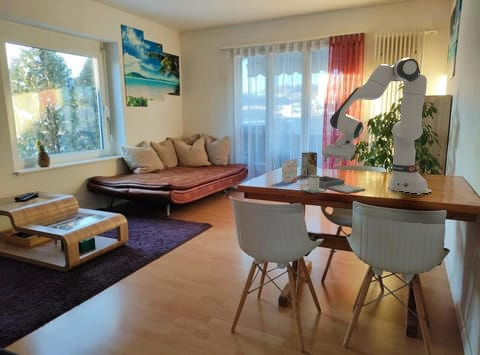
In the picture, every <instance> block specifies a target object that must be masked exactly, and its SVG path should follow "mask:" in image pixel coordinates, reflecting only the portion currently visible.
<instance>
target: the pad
mask: <svg viewBox="0 0 480 355" xmlns="http://www.w3.org/2000/svg"><path fill="white" fill-rule="evenodd" d="M300 190H301V191H304V192H308V193H311V194H316V193H322V192H326V191H327V189H325V188H321V187H319V190H315V191H313V190H310V189H308V187H304V188H300Z"/></svg>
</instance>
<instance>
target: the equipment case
mask: <svg viewBox="0 0 480 355" xmlns="http://www.w3.org/2000/svg"><path fill="white" fill-rule="evenodd" d="M308 180H309V177H307V181H308ZM319 188H321V189H325V190H331V191H334V190H335V192H338V191H339V192H338V193H341V194H352V193H353V192H354V193H358V191H359V192H364V190H365V191H366V188H364V187H359V186H355V185H350V184H346V183H345V179H342V178H337V177H333V176H328V175H324V176H320V177H319ZM354 193H353V194H354Z"/></svg>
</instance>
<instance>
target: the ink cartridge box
mask: <svg viewBox="0 0 480 355" xmlns="http://www.w3.org/2000/svg"><path fill="white" fill-rule="evenodd" d="M297 182H298V159H297V158H292V159H286V160H285V163H282V164H281V183H285V184H287V183H288V184H289V183H297Z"/></svg>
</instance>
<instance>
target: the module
mask: <svg viewBox="0 0 480 355" xmlns="http://www.w3.org/2000/svg"><path fill="white" fill-rule="evenodd" d="M319 177H321V176H320V175H318V174H317V175H309V176H308V178H309V180H308V179H307V184H308V186H307V188H308V189H310V190H313V191H315V190H319V188H320V187H319Z"/></svg>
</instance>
